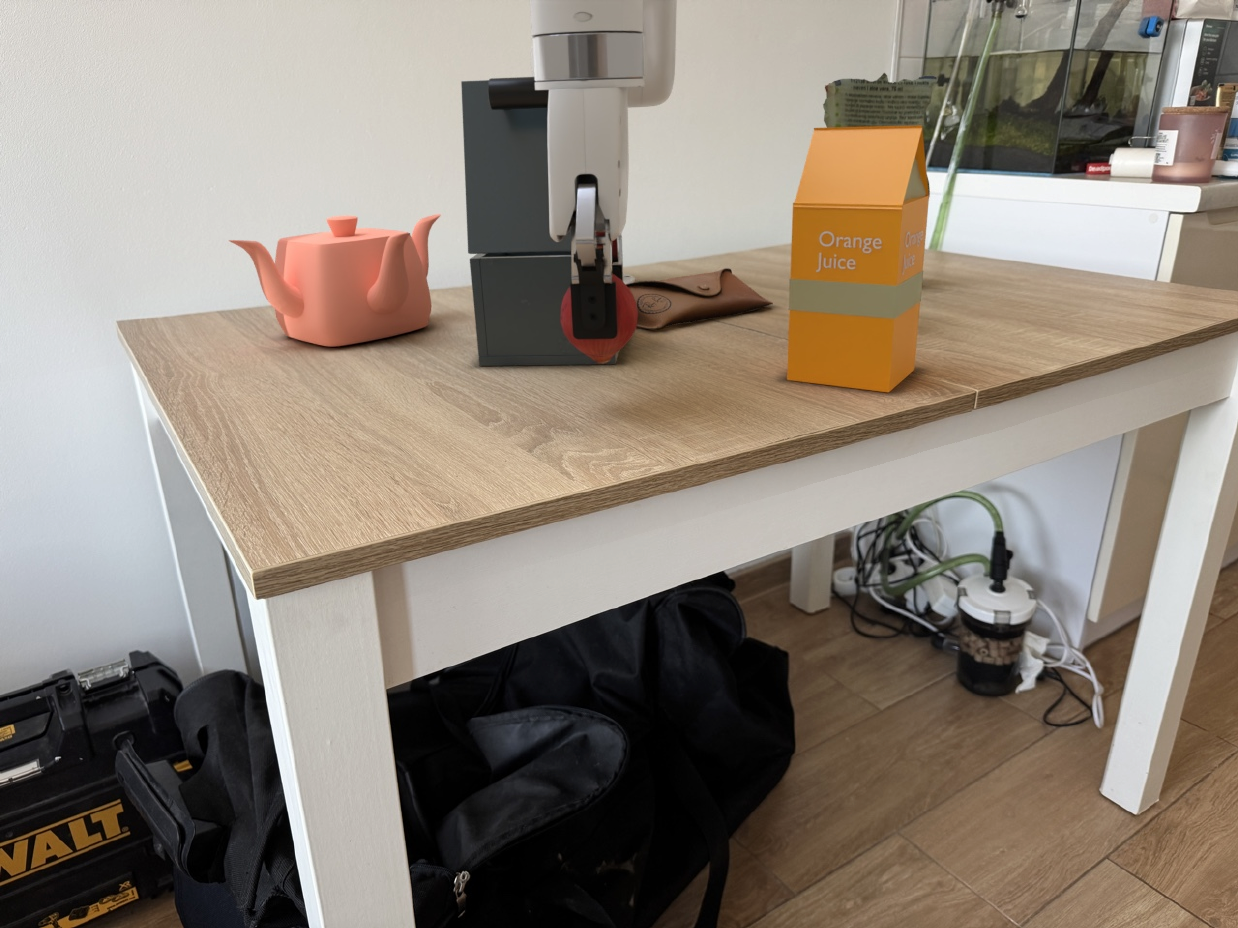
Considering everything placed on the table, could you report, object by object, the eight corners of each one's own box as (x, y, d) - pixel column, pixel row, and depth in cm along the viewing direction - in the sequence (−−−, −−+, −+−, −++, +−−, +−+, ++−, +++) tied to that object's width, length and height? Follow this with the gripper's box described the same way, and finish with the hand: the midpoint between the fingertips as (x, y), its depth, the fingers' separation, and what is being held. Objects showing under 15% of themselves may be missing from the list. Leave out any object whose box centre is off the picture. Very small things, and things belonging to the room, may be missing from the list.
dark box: (506, 332, 98) (498, 238, 94) (624, 330, 97) (622, 235, 93) (479, 366, 85) (469, 258, 82) (615, 364, 84) (611, 255, 81)
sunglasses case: (658, 328, 95) (637, 269, 95) (624, 351, 101) (604, 295, 101) (779, 303, 105) (759, 250, 105) (741, 326, 111) (722, 275, 111)
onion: (550, 370, 68) (543, 262, 65) (581, 350, 73) (576, 249, 70) (622, 376, 66) (618, 266, 63) (649, 355, 71) (647, 252, 68)
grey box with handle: (463, 83, 80) (445, 63, 74) (609, 78, 79) (602, 57, 73) (470, 254, 82) (453, 248, 76) (612, 250, 81) (606, 244, 75)
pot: (419, 351, 92) (405, 224, 87) (247, 355, 92) (224, 229, 87) (450, 313, 109) (440, 205, 104) (306, 317, 109) (289, 209, 105)
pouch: (809, 290, 114) (819, 74, 105) (845, 275, 123) (857, 75, 114) (897, 298, 108) (915, 69, 99) (928, 281, 117) (947, 70, 108)
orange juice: (889, 393, 73) (909, 127, 66) (785, 380, 77) (793, 129, 70) (915, 369, 79) (936, 124, 72) (818, 358, 84) (829, 126, 76)
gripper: (551, 70, 70) (564, 302, 77) (512, 65, 54) (532, 359, 61) (648, 66, 69) (652, 301, 76) (638, 61, 54) (644, 357, 61)
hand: (599, 324), depth 69 cm, fingers closed on onion, 5 cm apart
